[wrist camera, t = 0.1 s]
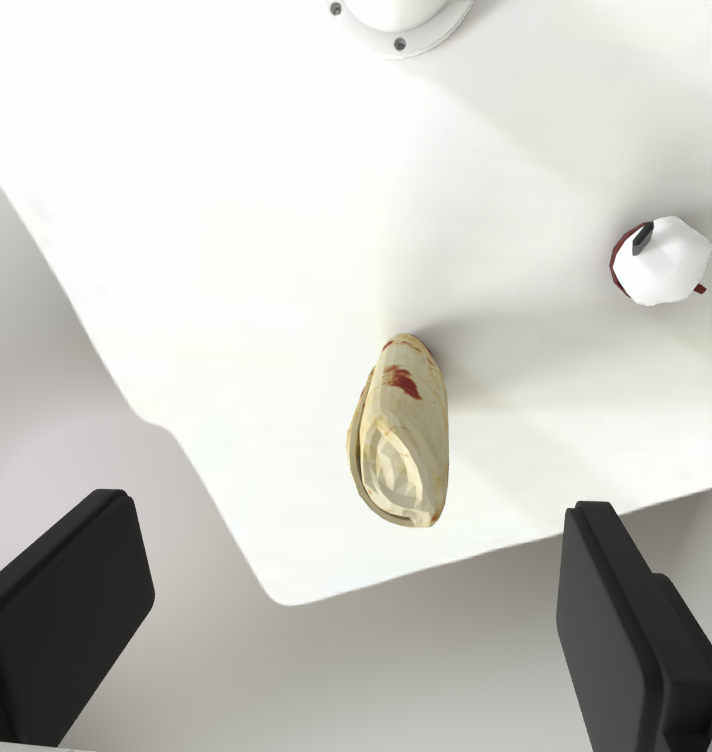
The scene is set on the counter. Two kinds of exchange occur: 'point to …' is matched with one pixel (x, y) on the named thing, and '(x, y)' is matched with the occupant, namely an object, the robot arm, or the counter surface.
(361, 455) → the food model
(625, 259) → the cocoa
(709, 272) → the counter surface
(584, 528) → the robot arm
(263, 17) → the counter surface
